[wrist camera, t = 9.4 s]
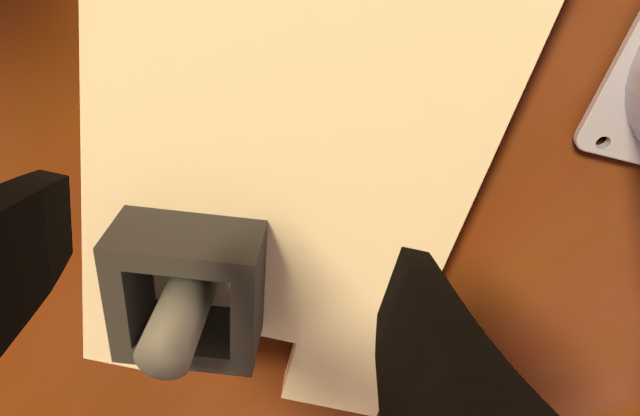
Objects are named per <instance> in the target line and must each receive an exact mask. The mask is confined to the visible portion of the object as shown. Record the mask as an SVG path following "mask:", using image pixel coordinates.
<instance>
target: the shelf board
mask: <svg viewBox="0 0 640 416" xmlns="http://www.w3.org/2000/svg"><path fill="white" fill-rule="evenodd" d="M563 2H564V0H79V65H80V139H81V213H82V287H83V358H86V359H90V360H95V361H100V362H105V363H110V364H115V365H120V366H125V367H130V368H135V369H140V370H141V371H142V372H143V373H145V374H146V375H148V376H150V377H153V378H156V379H160V380H175V379H179V378H181V377H183V376H184V375H185V374H186V373H187V372H188V370H189V368H190V365H191V362H192V359H193V356H194V354H195V351H196V348H197V345H198V342H199V339H200V336H201V333H202V330H203V327H204V325H205V322H206V319H207V316H208V313H209V310H210V307H211V305H213V306H222V307H230V283H223V282H214V281H205V280H196V279H186V278H177V277H168V276H159V275H153V278H154V288H155V298H156V299H158V302H157V304H156V306H155V309H154V311H153V313H152V315H151V317H150V319H149V321H148V323H147V325H146V327H145V330H144V332H143V334H142V336H141V338H140V340H139V342H138V344H137V346H136V348H135V351H134V354H133V358H134V362H135V364H136V365H133V364H124V363H115V362H112V360H111V354H110V348H109V342H108V336H107V330H106V324H105V318H104V312H103V306H102V301H101V295H100V289H99V283H98V277H97V271H96V265H95V259H94V253H93V248H94V246H95V245H96V244H97V242H98V241H99V239H100V238H101V237H102V235H103V234H104V232H105V231H106V230H107V228H108V227H109V226H110V224H111V223H112V221H113V220H114V219H115V217H116V216H117V214H118V213H119V212H120V210H121V209H122V208H123V206H124V205H130V206H139V207H149V208H158V209H167V210H176V211H186V212H195V213H204V214H213V215H222V216H232V217H241V218H250V219H259V220H268V224H267V247H266V269H265V291H264V313H263V328H262V332H261V336H263V337H268V338H272V339H277V340H282V341H287V342H292V343H293V346H292V350H291V353H290V357H289V360H288V364H287V367H286V371H285V374H284V380H283V387H282V394H281V398H284V399H289V400H294V401H299V402H304V403H309V404H314V405H319V406H324V407H329V408H334V409H339V410H344V411H348V412H353V413H358V414H363V415H368V416H377V414H378V411H379V404H378V392H377V379H376V365H375V342H376V324H377V314H378V311H379V308H380V305H381V303H382V300H383V297H384V294H385V291H386V289H387V286H388V283H389V280H390V278H391V275H392V272H393V269H394V267H395V264H396V261H397V258H398V256H399V253H400V250H401V247H407V248H412V249H416V250H421V251H426V252H429V253H430V254H431V256H432V257H433V258H434V260H435V261H436V263H437V264H438V266H439V267H440V269H441V271H442V270H443V268H444V265H445V263H446V261H447V259H448V257H449V254H450V252H451V250H452V248H453V246H454V243H455V241H456V239H457V237H458V234H459V232H460V230H461V228H462V226H463V223H464V221H465V219H466V217H467V215H468V212H469V210H470V208H471V206H472V204H473V201H474V199H475V197H476V195H477V192H478V190H479V188H480V186H481V184H482V181H483V179H484V177H485V175H486V173H487V170H488V168H489V166H490V164H491V161H492V159H493V157H494V155H495V153H496V150H497V148H498V146H499V144H500V142H501V139H502V137H503V135H504V133H505V131H506V128H507V126H508V124H509V122H510V119H511V117H512V115H513V113H514V111H515V108H516V106H517V104H518V102H519V100H520V97H521V95H522V93H523V91H524V89H525V86H526V84H527V82H528V80H529V77H530V75H531V73H532V71H533V69H534V66H535V64H536V62H537V60H538V58H539V55H540V53H541V51H542V49H543V47H544V44H545V42H546V40H547V38H548V35H549V33H550V31H551V29H552V27H553V24H554V22H555V20H556V18H557V16H558V13H559V11H560V9H561V7H562V4H563Z"/></svg>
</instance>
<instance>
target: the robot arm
mask: <svg viewBox="0 0 640 416" xmlns="http://www.w3.org/2000/svg"><path fill="white" fill-rule="evenodd" d="M601 137H606V140H605V141H604V143H602V144H600V145H596V141H597V140H598V139H599V138H601ZM573 140H574V143H575V145H576V146H577V147H578V148H579V149H580V150H582V151H585V152H589V153H593V154H597V155H601V156H605V157H610V158H614V159H618V160H622V161H626V162H630V163H634V164H638V165H640V10H639V12H638V14H637V16H636V18H635V20H634V22H633V24H632V25H631V27H630V29H629V31H628V33H627V35H626V37H625V39H624V41H623V42H622V44H621V46H620V48H619V50H618V52H617V54H616V56H615V58H614V59H613V61H612V63H611V65H610V67H609V69H608V71H607V73H606V75H605V76H604V78H603V80H602V82H601V84H600V86H599V88H598V90H597V92H596V93H595V95H594V97H593V99H592V101H591V103H590V105H589V107H588V109H587V110H586V112H585V114H584V116H583V118H582V120H581V122H580V124H579V126H578V127H577V129H576V131H575V133H574V136H573ZM72 253H73V248H72V228H71V209H70V190H69V176H67V175H62V174H58V173H53V172H48V171H43V170H37V171H34V172H31V173H28V174H25V175H22V176H19V177H16V178H14V179H11V180H8V181H6V182H3V183H1V184H0V357H1V356H2V355H3V353H4V352H5V351H6V350H7V348H8V347H9V346H10V344H11V343H12V342H13V341H14V339H15V338H16V337H17V335H18V334H19V333H20V332H21V330H22V329H23V328H24V326H25V325H26V324H27V323H28V321H29V320H30V319H31V317H32V316H33V315H34V313H35V312H36V311H37V309H38V308H39V307H40V306H41V304H42V303H43V302H44V300H45V299H46V298H47V296H48V295H49V293H50V292H51V291H52V289H53V287H54V286H55V284H56V282H57V280H58V279H59V277H60V275H61V274H62V272H63V270H64V268H65V266H66V264H67V262H68V261H69V259H70V257H71V255H72ZM375 365H376V379H377V392H378V404H379V416H559V415H558V414H557V413H556V412H555V411H554V410H553V409H552V408H551V407H550V406H549V405H548V404H547V403H546V402H545V401H544V400H543V399H542V398H541V397H540V396H539V395H538V394H537V393H536V392H535V391H534V390H533V388H532V387H531V386H530V385H529V384H528V383H527V382H526V381H525V380H524V379H523V378H522V377H521V376H520V375H519V373H518V372H517V371H516V370H515V369H514V368H513V367H512V366H511V364H510V363H509V362H508V361H507V360H506V359H505V357H504V356H503V355H502V354H501V352H500V351H499V350H498V349H497V347H496V346H495V345H494V344H493V342H492V341H491V340H490V339H489V337H488V336H487V335H486V334H485V332H484V331H483V330H482V328H481V327H480V326H479V324H478V323H477V322H476V320H475V319H474V318H473V316H472V315H471V313H470V312H469V311H468V309H467V308H466V306H465V305H464V303H463V302H462V301H461V299H460V298H459V296H458V295H457V293H456V292H455V290H454V289H453V287H452V286H451V284H450V283H449V281H448V280H447V278H446V277H445V275H444V274H443V272H442V271H441V269H440V267H439V266H438V264H437V263H436V261H435V260H434V258H433V257H432V256H431V254H430V253H429V252H426V251H421V250H416V249H412V248H407V247H401V250H400V253H399V256H398V258H397V261H396V264H395V267H394V269H393V272H392V275H391V278H390V280H389V283H388V286H387V289H386V291H385V294H384V297H383V300H382V303H381V305H380V308H379V311H378V314H377V324H376V342H375Z"/></svg>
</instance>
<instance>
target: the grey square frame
mask: <svg viewBox="0 0 640 416" xmlns="http://www.w3.org/2000/svg"><path fill="white" fill-rule="evenodd" d="M267 224H268V220H259V219H250V218H241V217H232V216H222V215H213V214H204V213H195V212H186V211H176V210H167V209H158V208H149V207H139V206H130V205H124V206H123V208H122V209H121V210H120V212H119V213H118V214H117V216H116V217H115V219H114V220H113V221H112V223H111V224H110V226H109V227H108V228H107V230H106V231H105V232H104V234H103V235H102V237H101V238H100V239H99V241H98V242H97V244H96V245H95V246H94V248H93V253H94V259H95V265H96V271H97V277H98V283H99V289H100V295H101V301H102V306H103V312H104V318H105V324H106V330H107V336H108V342H109V348H110V354H111V360H112V362H115V363H124V364H133V365H136V364H135V362H134V358H133V354H134V351H135V348H136V346H137V344H138V342H139V340H140V338H141V336H142V334H143V332H144V330H145V327H146V325H147V323H148V321H149V319H150V317H151V315H152V313H153V311H154V309H155V306H156V304H157V302H158V299H156V298H155V288H154V278H153V275H159V276H168V277H177V278H186V279H196V280H205V281H214V282H223V283H230V307H222V306H213V305H211V307H210V310H209V313H208V316H207V319H206V322H205V325H204V327H203V330H202V333H201V336H200V339H199V342H198V345H197V348H196V351H195V354H194V356H193V359H192V362H191V365H190V368H189V370H188V371H197V372H206V373H216V374H225V375H234V376H243V377H252V375H253V370H254V365H255V361H256V356H257V351H258V346H259V342H260V337H261V332H262V328H263V313H264V291H265V269H266V247H267Z"/></svg>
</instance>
